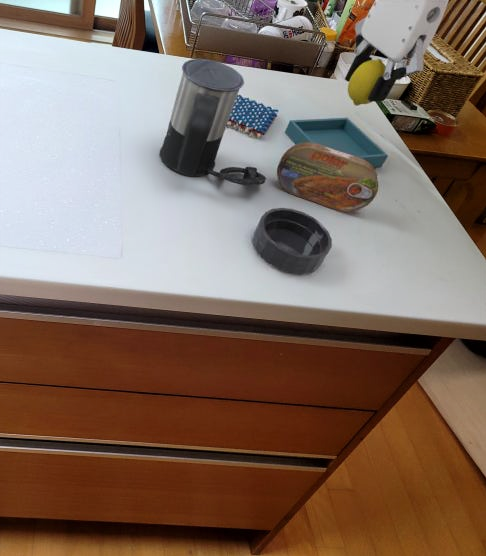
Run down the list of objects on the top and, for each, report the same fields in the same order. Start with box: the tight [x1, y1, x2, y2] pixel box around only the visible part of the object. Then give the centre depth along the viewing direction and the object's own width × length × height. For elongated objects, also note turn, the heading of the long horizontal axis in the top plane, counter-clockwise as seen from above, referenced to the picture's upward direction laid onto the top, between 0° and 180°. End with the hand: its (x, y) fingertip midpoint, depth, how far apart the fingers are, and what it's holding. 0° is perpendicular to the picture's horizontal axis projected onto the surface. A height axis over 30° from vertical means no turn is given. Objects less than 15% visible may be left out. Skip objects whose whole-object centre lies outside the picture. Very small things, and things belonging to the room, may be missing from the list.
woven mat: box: [227, 94, 279, 139], centre depth 100 cm, size 10×11×2 cm
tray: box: [284, 117, 389, 169], centre depth 98 cm, size 13×12×2 cm
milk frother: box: [159, 58, 267, 186], centre depth 82 cm, size 14×16×15 cm
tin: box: [276, 142, 379, 213], centre depth 84 cm, size 15×3×8 cm, turn 68°
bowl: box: [252, 207, 333, 275], centre depth 76 cm, size 10×10×4 cm
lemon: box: [347, 58, 386, 107], centre depth 90 cm, size 6×6×8 cm
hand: (364, 89), depth 90 cm, fingers closed on lemon, 5 cm apart
